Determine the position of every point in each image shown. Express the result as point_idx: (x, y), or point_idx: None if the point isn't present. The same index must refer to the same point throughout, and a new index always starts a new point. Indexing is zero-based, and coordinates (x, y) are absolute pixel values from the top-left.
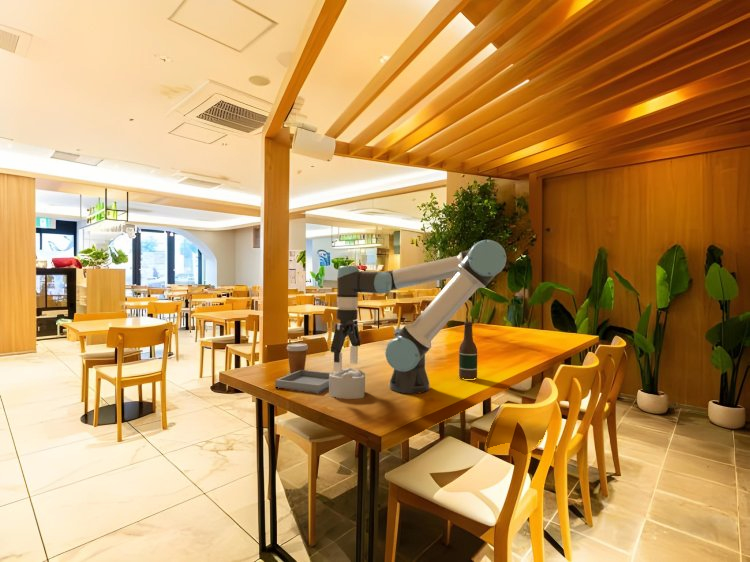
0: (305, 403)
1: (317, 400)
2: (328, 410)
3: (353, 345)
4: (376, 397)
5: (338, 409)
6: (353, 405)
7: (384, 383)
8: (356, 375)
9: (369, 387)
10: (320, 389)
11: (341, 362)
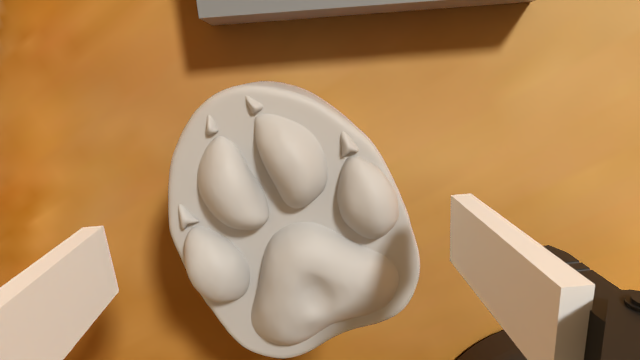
0: (15, 61)
1: (101, 95)
2: (10, 238)
3: (594, 326)
4: None
5: None
6: (145, 303)
7: None
8: (258, 325)
9: None
10: (226, 21)
11: (66, 347)
